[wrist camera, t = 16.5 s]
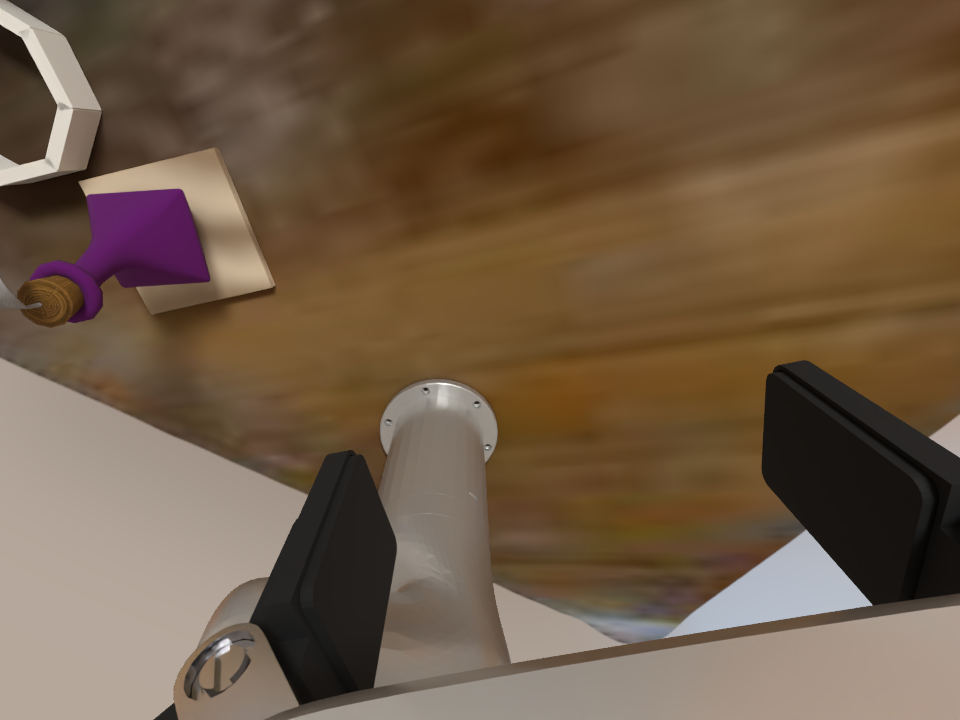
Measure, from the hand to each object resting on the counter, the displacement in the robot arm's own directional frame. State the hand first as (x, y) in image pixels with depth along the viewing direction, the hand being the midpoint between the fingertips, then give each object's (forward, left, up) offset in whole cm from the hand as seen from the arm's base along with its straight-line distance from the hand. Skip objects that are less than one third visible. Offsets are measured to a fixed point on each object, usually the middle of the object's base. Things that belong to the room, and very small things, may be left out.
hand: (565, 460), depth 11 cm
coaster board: (+5, +27, -34) cm, 44 cm away
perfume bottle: (+6, +27, -34) cm, 44 cm away
